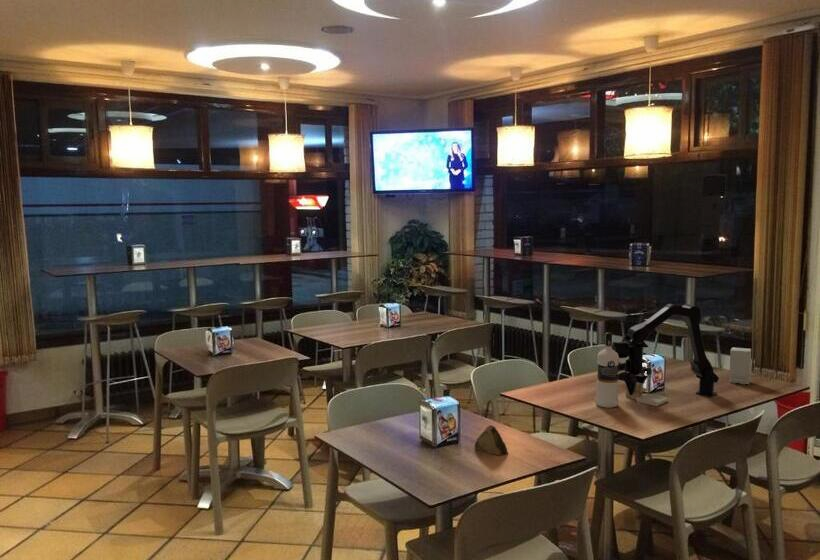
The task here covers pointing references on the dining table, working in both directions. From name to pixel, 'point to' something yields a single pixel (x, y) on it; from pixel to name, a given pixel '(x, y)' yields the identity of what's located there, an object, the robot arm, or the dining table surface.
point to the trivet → (651, 399)
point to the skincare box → (740, 365)
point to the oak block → (635, 391)
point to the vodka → (607, 375)
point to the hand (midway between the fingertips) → (634, 393)
